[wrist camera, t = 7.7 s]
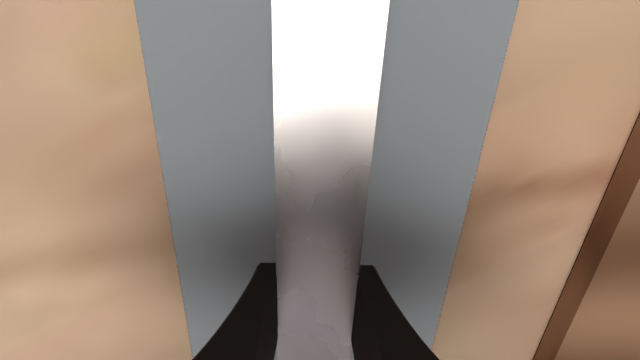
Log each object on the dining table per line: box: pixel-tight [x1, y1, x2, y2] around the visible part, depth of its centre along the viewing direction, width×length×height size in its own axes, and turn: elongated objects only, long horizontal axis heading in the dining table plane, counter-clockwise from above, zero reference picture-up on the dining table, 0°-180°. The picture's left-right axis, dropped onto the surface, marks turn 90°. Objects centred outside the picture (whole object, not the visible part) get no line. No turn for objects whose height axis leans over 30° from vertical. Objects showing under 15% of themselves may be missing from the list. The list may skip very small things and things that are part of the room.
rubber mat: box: [134, 0, 519, 360], centre depth 14 cm, size 26×10×1 cm, turn 178°
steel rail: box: [272, 0, 389, 360], centre depth 13 cm, size 23×2×2 cm, turn 178°
